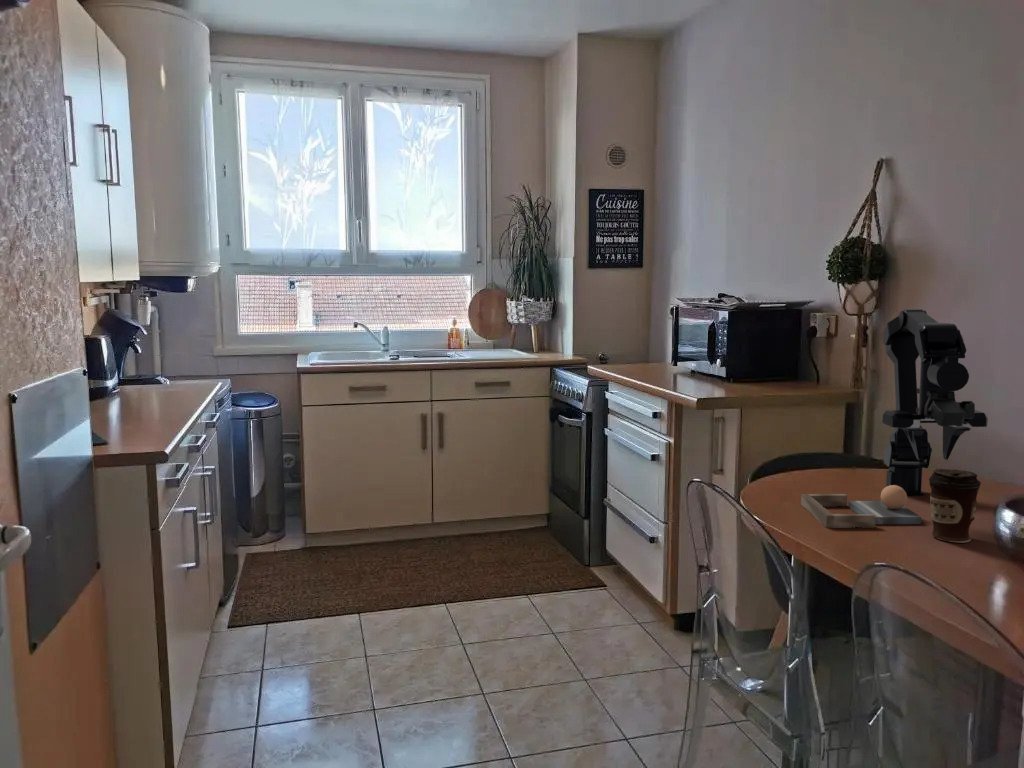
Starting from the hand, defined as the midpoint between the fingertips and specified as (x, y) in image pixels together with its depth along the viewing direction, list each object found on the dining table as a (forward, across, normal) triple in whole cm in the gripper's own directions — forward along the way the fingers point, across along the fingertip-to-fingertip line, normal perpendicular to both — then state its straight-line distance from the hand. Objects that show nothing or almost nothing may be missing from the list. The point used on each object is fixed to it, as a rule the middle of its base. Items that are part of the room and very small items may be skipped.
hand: (932, 459), depth 161 cm
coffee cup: (+12, -3, -15) cm, 20 cm away
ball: (+8, -8, 0) cm, 11 cm away
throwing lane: (+12, -14, 0) cm, 19 cm away
